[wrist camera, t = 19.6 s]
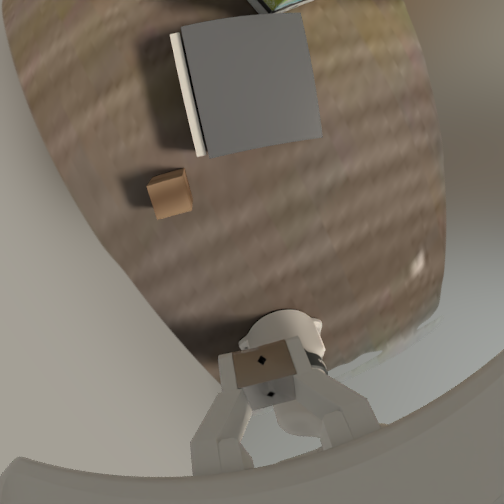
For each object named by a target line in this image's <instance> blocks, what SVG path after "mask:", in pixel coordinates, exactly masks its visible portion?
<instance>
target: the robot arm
mask: <svg viewBox="0 0 504 504" xmlns="http://www.w3.org/2000/svg"><path fill="white" fill-rule="evenodd" d="M321 328H322V322H321V320H320V319H316V318H311V317H309V316H308V315H306V314H305V313H303V312H301V311H298V310H280V311H276V312H273V313H270V314H268V315H266V316H264V317H263V318H261V319H260V320H258V321H257V322H256V323H255V324H254V325H253V326H252V328H251V329H250V331H249V333H248V334H247V335H246V336H245V337H244V338H242V339H241V340H240V341H239V343H238V344H239V347H240V349H241V351H236V352H232V353H227V354H222V355H219V356H218V363H219V371H220V379H221V387H222V392H221V393H218V395H217V396H216V398H215V400H214V402H213V404H212V405H211V407H210V409H209V411H208V412H207V414H206V416H205V418H204V420H203V421H202V423H201V425H200V426H199V428H198V430H197V432H196V433H195V435H194V437H193V438H192V440H191V442H190V447H191V459H192V471H193V476H184V477H135V476H134V477H133V476H118V475H109V474H99V473H92V472H85V471H79V470H73V469H68V468H64V467H59V466H54V465H50V464H46V463H42V462H38V461H35V460H31V459H28V458H24V457H17V458H16V459H14V460H13V461H12V463H11V464H10V465H9V466H8V467H7V468H6V469H5V471H4V472H3V473H2V474H1V476H0V504H504V349H503V350H502V351H501V352H500V353H499V354H498V355H496V356H495V357H494V358H493V359H492V360H490V361H489V362H488V363H487V364H485V365H484V366H483V367H482V368H480V369H479V370H478V371H476V372H475V373H474V374H472V375H471V376H470V377H468V378H467V379H465V380H464V381H463V382H461V383H460V384H458V385H457V386H455V387H454V388H452V389H451V390H449V391H448V392H446V393H445V394H443V395H442V396H440V397H438V398H437V399H435V400H433V401H432V402H430V403H428V404H427V405H425V406H423V407H421V408H420V409H418V410H416V411H414V412H412V413H410V414H409V415H407V416H405V417H403V418H401V419H399V420H397V421H395V422H393V423H391V424H389V425H388V424H382V423H381V424H380V423H378V421H377V419H376V416H375V414H374V412H373V410H372V408H371V406H370V404H369V402H368V400H367V398H365V397H363V396H362V395H360V394H358V393H357V392H355V391H353V390H351V389H350V388H348V387H346V386H345V385H343V384H341V383H340V382H338V381H336V380H335V379H333V378H331V377H330V376H328V372H327V369H326V365H325V363H324V362H323V360H322V357H323V355H324V351H325V347H324V344H323V342H322V339H321V337H320V332H321ZM272 405H273V407H274V411H275V414H276V418H277V422H278V424H279V426H280V427H281V428H282V429H283V430H284V431H285V432H287V433H289V434H292V435H297V436H309V437H311V436H312V437H318V438H321V439H320V441H321V444H322V446H321V447H319V448H318V449H316V450H313V451H310V452H307V453H305V454H301V455H298V456H295V457H292V458H289V459H286V460H283V461H280V462H278V463H276V464H273V465H268V466H263V467H258V468H254V465H253V460H252V457H251V456H250V455H249V453H248V452H247V451H246V450H245V448H244V447H243V446H242V444H241V443H240V442H241V440H242V437H243V435H244V432H245V429H246V427H247V425H248V422H249V420H250V417H251V415H252V411H253V410H257V409H261V408H265V407H268V406H272Z"/></svg>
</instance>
